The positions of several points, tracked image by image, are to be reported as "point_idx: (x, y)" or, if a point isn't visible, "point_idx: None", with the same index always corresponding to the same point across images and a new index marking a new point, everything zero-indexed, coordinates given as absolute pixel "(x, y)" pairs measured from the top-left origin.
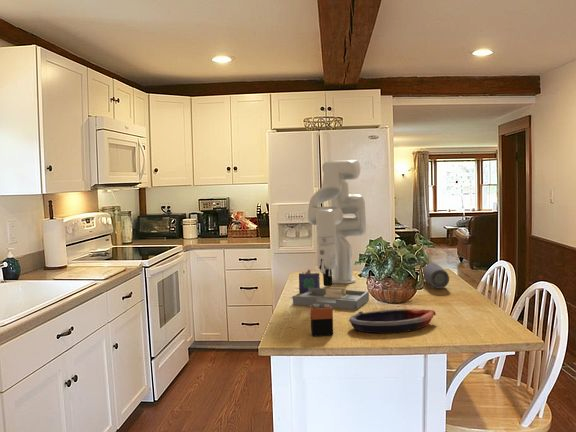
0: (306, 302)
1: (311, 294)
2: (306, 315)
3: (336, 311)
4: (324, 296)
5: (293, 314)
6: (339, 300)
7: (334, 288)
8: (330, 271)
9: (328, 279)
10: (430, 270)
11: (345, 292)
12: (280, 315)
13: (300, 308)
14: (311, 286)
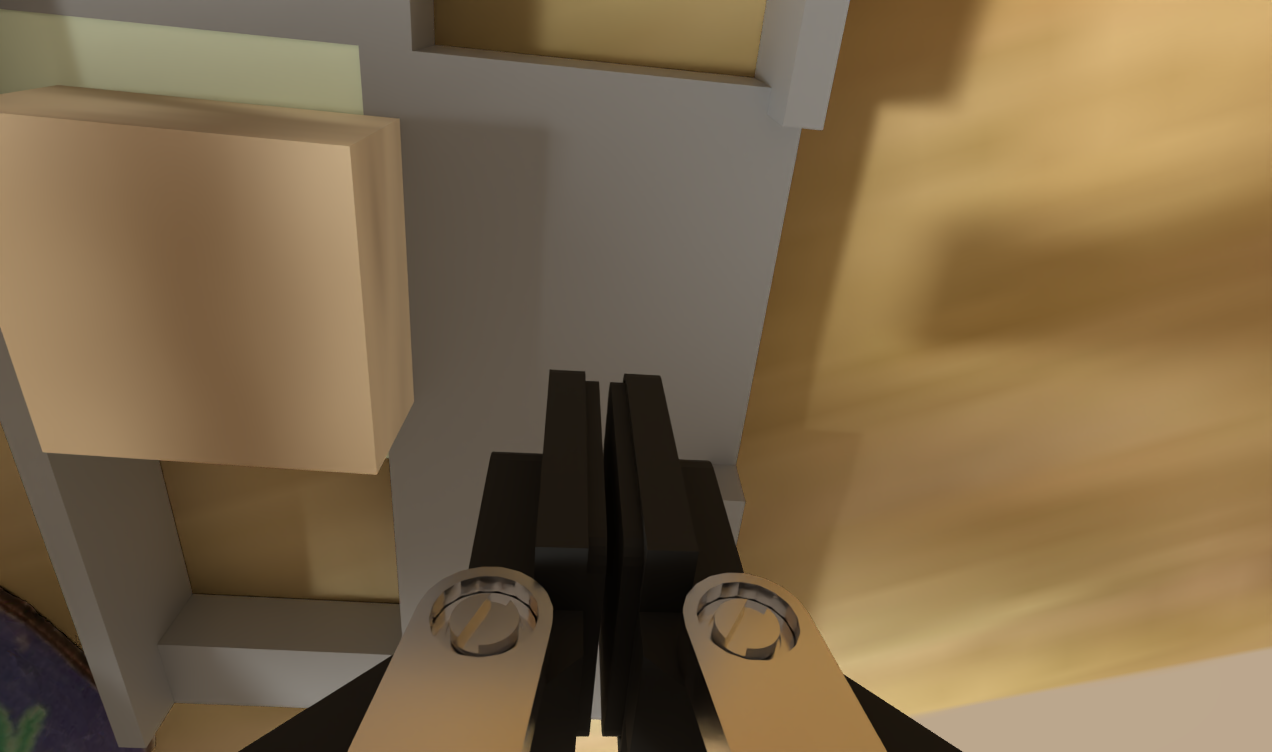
0: None
1: (249, 626)
2: (1195, 403)
3: (999, 33)
4: None
5: (1129, 546)
6: (838, 33)
7: (173, 347)
8: (528, 746)
9: (717, 537)
10: None
11: (51, 94)
12: (1157, 642)
13: (851, 556)
14: (3, 734)
